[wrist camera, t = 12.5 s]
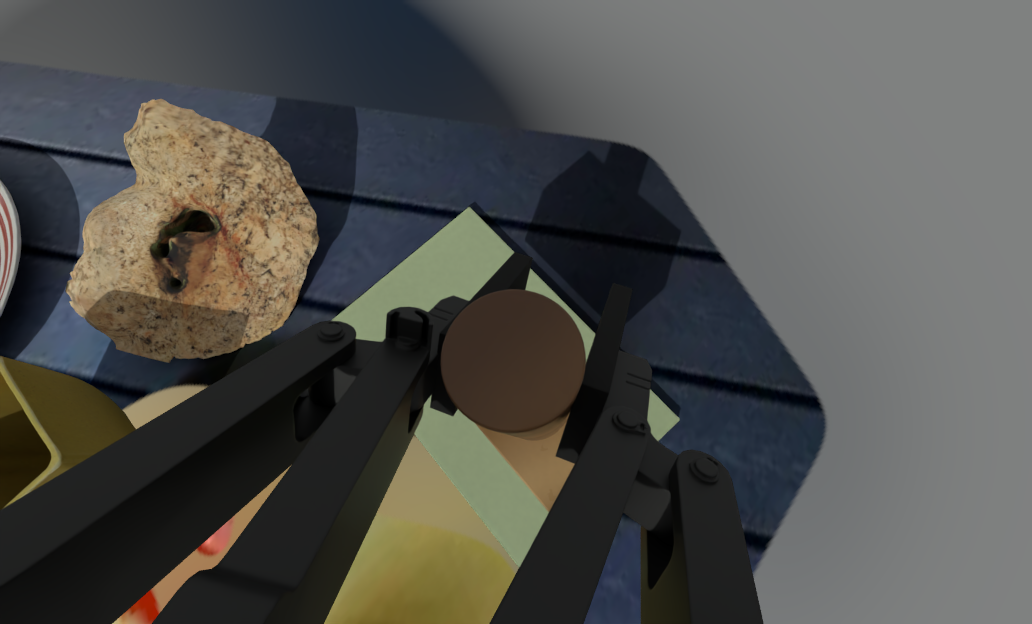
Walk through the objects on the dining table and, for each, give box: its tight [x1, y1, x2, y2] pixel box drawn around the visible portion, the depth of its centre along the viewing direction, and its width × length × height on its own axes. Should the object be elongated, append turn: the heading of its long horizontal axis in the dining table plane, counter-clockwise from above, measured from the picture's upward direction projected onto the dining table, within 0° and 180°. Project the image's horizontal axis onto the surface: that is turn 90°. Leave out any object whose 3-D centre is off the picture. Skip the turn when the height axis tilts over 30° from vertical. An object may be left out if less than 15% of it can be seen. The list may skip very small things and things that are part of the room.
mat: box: [331, 207, 680, 567], centre depth 33 cm, size 22×14×1 cm, turn 42°
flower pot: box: [0, 356, 136, 510], centre depth 29 cm, size 9×9×9 cm
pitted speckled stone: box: [66, 99, 320, 363], centre depth 35 cm, size 18×14×8 cm
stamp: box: [441, 289, 586, 512], centre depth 17 cm, size 10×5×14 cm, turn 42°
